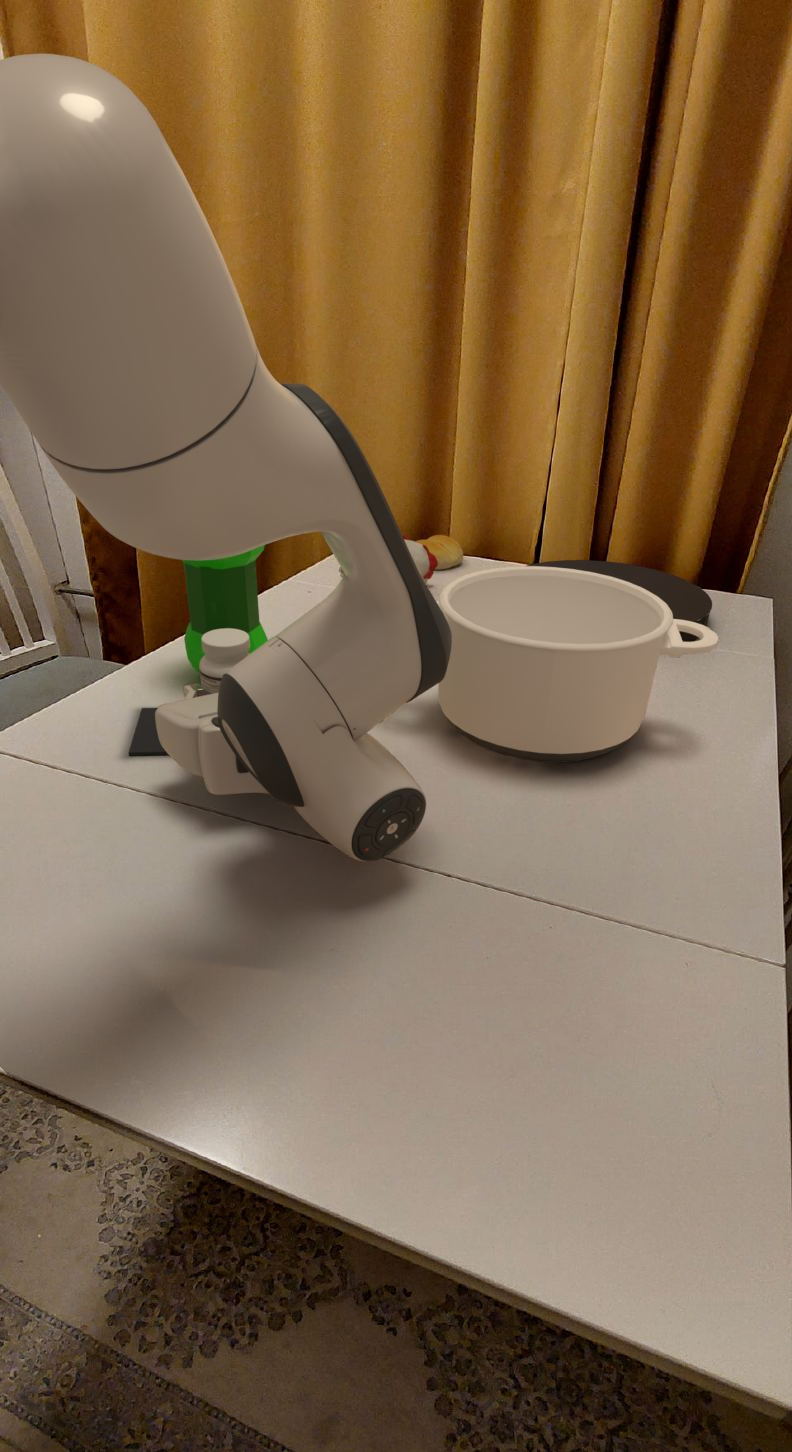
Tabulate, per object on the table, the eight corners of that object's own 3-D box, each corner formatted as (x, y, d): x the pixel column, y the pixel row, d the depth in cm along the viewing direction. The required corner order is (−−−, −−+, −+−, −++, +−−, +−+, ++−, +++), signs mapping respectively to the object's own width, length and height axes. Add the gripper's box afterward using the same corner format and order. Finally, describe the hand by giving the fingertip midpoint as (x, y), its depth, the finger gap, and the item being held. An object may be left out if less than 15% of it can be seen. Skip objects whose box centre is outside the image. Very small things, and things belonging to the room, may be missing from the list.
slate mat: (128, 755, 84) (128, 752, 83) (142, 711, 91) (141, 707, 91) (329, 751, 86) (329, 748, 85) (325, 708, 94) (325, 704, 93)
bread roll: (397, 562, 137) (398, 536, 135) (436, 552, 142) (437, 527, 140) (432, 574, 132) (434, 548, 130) (471, 564, 137) (473, 538, 135)
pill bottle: (240, 710, 92) (232, 621, 85) (272, 728, 88) (266, 637, 82) (195, 726, 88) (184, 634, 82) (227, 745, 85) (218, 652, 79)
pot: (675, 692, 100) (705, 576, 91) (707, 794, 81) (748, 660, 73) (400, 669, 103) (404, 554, 94) (371, 762, 84) (373, 630, 76)
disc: (494, 642, 111) (496, 619, 109) (498, 572, 134) (500, 553, 133) (725, 659, 108) (732, 637, 107) (688, 585, 132) (693, 566, 130)
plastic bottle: (169, 685, 97) (135, 446, 82) (215, 653, 105) (192, 429, 90) (246, 701, 94) (226, 457, 79) (287, 666, 102) (276, 439, 87)
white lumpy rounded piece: (333, 596, 121) (393, 584, 132) (396, 614, 116) (453, 600, 127) (337, 530, 116) (399, 523, 127) (403, 545, 111) (462, 537, 122)
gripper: (399, 684, 76) (328, 633, 86) (185, 733, 68) (131, 671, 77) (397, 745, 80) (329, 690, 89) (194, 800, 71) (141, 733, 81)
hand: (236, 682), depth 83 cm, fingers open, 8 cm apart
